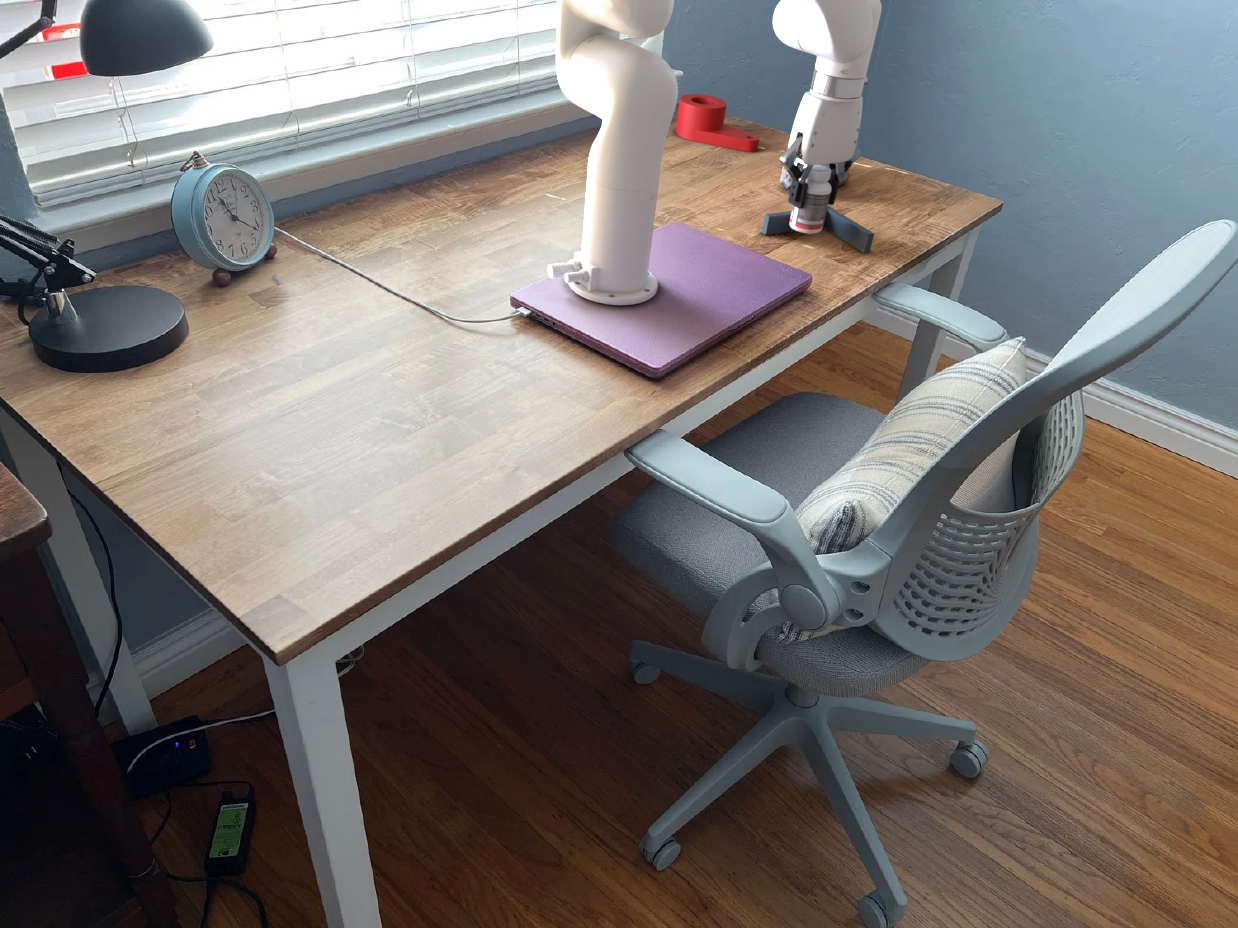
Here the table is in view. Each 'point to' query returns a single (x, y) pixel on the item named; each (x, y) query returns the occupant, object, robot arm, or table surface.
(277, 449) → the table surface
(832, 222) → the corner
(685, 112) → the lever
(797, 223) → the pill bottle
